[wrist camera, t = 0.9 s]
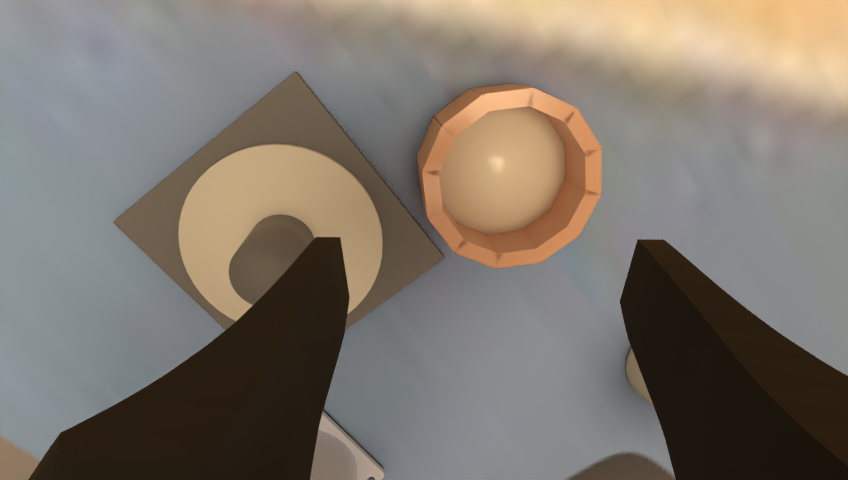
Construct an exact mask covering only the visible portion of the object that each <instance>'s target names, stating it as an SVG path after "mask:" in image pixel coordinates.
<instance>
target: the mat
mask: <svg viewBox="0 0 848 480" xmlns="http://www.w3.org/2000/svg"><path fill="white" fill-rule="evenodd" d="M272 143H281V144H293V145H298V146H303V147H307V148H310V149H313V150H316V151H319V152H321V153H323V154H325V155H327V156H329V157H331V158H332V159H334V160H336V161H337V162H339V163H340V164H342V165H343V166H344V167H345V168H347V169H348V170H349V171H350V172H351V173H353V175H354V176H355V177H356V178H357V179H358V180H359V181H360V182H361V183H362V185H363V186H364V187H365V189H366V190H367V192H368V193H369V195H370V197H371V199H372V200H373V202H374V204H375V207H376V209H377V212H378V215H379V218H380V223H381V227H382V238H383V247H382V259H381V264H380V268H379V271H378V274H377V277H376V279H375V281H374V283H373V285H372V287H371V289H370V291H369V292H368V293H367V295H366V296H365V298H364V299H363V300H362V301H361V302H360V303H359V304H358V305H357V307H356V308H354V309H353V310H352V311H351V312H350V313H348V314H347V320H346V327H345V329H346V328H348V327H349V326H351V325H352V324H353V323H355V322H356V321H358V320H359V319H360V318H362V317H363V316H365V315H366V314H367V313H369V312H370V311H372V310H373V309H374V308H376V307H377V306H379V305H380V304H381V303H383V302H384V301H385V300H387V299H388V298H390V297H391V296H392V295H394V294H395V293H397V292H398V291H399V290H401V289H402V288H404V287H405V286H406V285H408V284H409V283H411V282H412V281H413V280H415V279H416V278H418V277H419V276H420V275H422V274H423V273H425V272H426V271H427V270H429V269H430V268H431V267H433V266H434V265H436V264H437V263H438V262H440V261H441V260H443V259H444V255H443V254H442V253H441V251H440V250H439V249H438V248H437V246H436V245H435V244H434V243H433V241H432V240H431V239H430V238H429V236H428V235H427V234H426V233H425V231H424V230H423V229H422V228H421V226H420V225H419V224H418V223H417V221H416V220H415V219H414V218H413V216H412V215H411V214H410V213H409V211H408V210H407V209H406V208H405V206H404V205H403V204H402V203H401V201H400V200H399V199H398V198H397V196H396V195H395V194H394V193H393V191H392V190H391V189H390V188H389V186H388V185H387V184H386V183H385V181H384V180H383V179H382V178H381V176H380V175H379V174H378V173H377V171H376V170H375V169H374V168H373V166H372V165H371V164H370V163H369V161H368V160H367V159H366V158H365V156H364V155H363V154H362V153H361V151H360V150H359V149H358V148H357V146H356V145H355V144H354V143H353V141H352V140H351V139H350V138H349V136H348V135H347V134H346V133H345V131H344V130H343V129H342V128H341V126H340V125H339V124H338V123H337V121H336V120H335V119H334V118H333V116H332V115H331V114H330V113H329V111H328V110H327V109H326V108H325V107H324V105H323V104H322V103H321V102H320V100H319V99H318V98H317V97H316V95H315V94H314V93H313V92H312V90H311V89H310V88H309V87H308V85H307V84H306V83H305V82H304V80H303V79H302V78H301V77H300V75H299V74H298V73H297V72H294V73H293V74H292V75H291V76H289V77H288V78H287V79H286V80H285V81H283V82H282V83H281V84H280V85H278V86H277V87H276V88H275V89H274V90H272V91H271V92H270V93H269V94H268V95H266V96H265V97H264V98H263V99H262V100H260V101H259V102H258V103H257V104H255V105H254V106H253V107H252V108H251V109H249V110H248V111H247V112H246V113H245V114H243V115H242V116H241V117H240V118H239V119H237V120H236V121H235V122H234V123H232V124H231V125H230V126H229V127H228V128H226V129H225V130H224V131H223V132H222V133H220V134H219V135H218V136H217V137H216V138H214V139H213V140H212V141H211V142H209V143H208V144H207V145H206V146H205V147H203V148H202V149H201V150H200V151H199V152H197V153H196V154H195V155H194V156H193V157H191V158H190V159H189V160H188V161H186V162H185V163H184V164H183V165H182V166H180V167H179V168H178V169H177V170H176V171H174V172H173V173H172V174H171V175H170V176H168V177H167V178H166V179H165V180H163V181H162V182H161V183H160V184H159V185H157V186H156V187H155V188H154V189H153V190H151V191H150V192H149V193H148V194H147V195H145V196H144V197H143V198H142V199H140V200H139V201H138V202H137V203H136V204H134V205H133V206H132V207H131V208H130V209H128V210H127V211H126V212H125V213H124V214H122V215H121V216H120V217H119V218H117V219H116V220H115V221H114V222H113V223H114V224H115V225H116V226H117V227H118V228H119V229H120V230H121V231H122V232H123V233H125V234H126V235H127V236H128V237H129V238H130V239H131V240H132V241H133V242H134V243H135V244H136V245H137V246H138V247H139V248H140V249H141V250H142V251H143V252H144V253H146V254H147V255H148V256H149V257H150V258H151V259H152V260H153V261H154V262H155V263H156V264H157V265H158V266H159V267H160V268H161V269H162V270H163V271H164V272H165V273H167V274H168V275H169V276H170V277H171V278H172V279H173V280H174V281H175V282H176V283H177V284H178V285H179V286H180V287H181V288H182V289H183V290H184V291H185V292H186V293H188V294H189V295H190V296H191V297H192V298H193V299H194V300H195V301H196V302H197V303H198V304H199V305H200V306H201V307H202V308H203V309H204V310H205V311H206V312H208V313H209V314H210V315H211V316H212V317H213V318H214V319H215V320H216V321H217V322H218V323H219V324H220V325H221V326H222V327H223V328H224V329H225V330H227V329H228V328H229V327H230V326H231V325H232V324H233V323H235V322H236V321H235V320H233V319H231V318H229V317H227V316H226V315H224V314H223V313H221V312H220V311H219V310H217V309H216V308H215V307H214V306H213V305H211V304H210V303H209V302H208V301H207V300H206V299H205V298H204V296H203V295H202V294H201V293H200V292H199V291H198V289H197V288H196V286H195V285H194V284H193V282H192V280H191V278H190V276H189V275H188V273H187V271H186V268H185V265H184V263H183V260H182V256H181V252H180V248H179V237H178V232H179V220H180V216H181V211H182V208H183V205H184V202H185V200H186V197H187V196H188V194H189V192H190V190H191V189H192V187H193V186H194V184H195V183H196V182H197V180H198V179H199V178H200V177H201V176H202V175H203V174H204V173H205V172H206V171H207V170H208V169H209V168H210V167H212V166H213V165H214V164H216V163H217V162H219V161H220V160H222V159H223V158H225V157H226V156H228V155H230V154H232V153H234V152H236V151H239V150H242V149H245V148H248V147H251V146H256V145H261V144H272Z"/></svg>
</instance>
